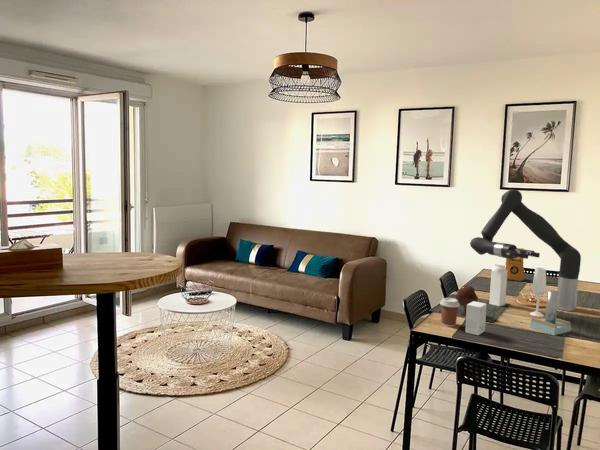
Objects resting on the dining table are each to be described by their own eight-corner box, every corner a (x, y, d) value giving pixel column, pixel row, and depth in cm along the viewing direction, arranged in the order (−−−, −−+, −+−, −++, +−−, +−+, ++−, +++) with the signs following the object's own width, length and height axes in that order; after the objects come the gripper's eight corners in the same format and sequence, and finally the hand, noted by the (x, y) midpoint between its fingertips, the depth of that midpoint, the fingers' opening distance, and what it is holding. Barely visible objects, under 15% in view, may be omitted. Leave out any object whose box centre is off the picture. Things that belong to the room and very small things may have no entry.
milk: (499, 306, 262) (501, 266, 259) (488, 303, 267) (491, 264, 264) (505, 304, 266) (508, 265, 263) (495, 302, 270) (497, 263, 268)
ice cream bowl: (476, 312, 249) (478, 284, 248) (476, 318, 239) (478, 289, 237) (454, 310, 253) (456, 282, 251) (454, 316, 242) (456, 287, 241)
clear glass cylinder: (548, 321, 228) (551, 289, 226) (557, 323, 224) (560, 292, 222) (542, 322, 226) (545, 290, 224) (551, 325, 222) (554, 293, 220)
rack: (546, 323, 233) (547, 314, 233) (570, 331, 223) (571, 322, 222) (530, 327, 227) (530, 318, 227) (554, 335, 217) (554, 325, 216)
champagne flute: (538, 317, 244) (542, 270, 241) (526, 313, 250) (530, 267, 247) (547, 315, 247) (551, 269, 244) (535, 311, 253) (539, 266, 250)
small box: (471, 328, 225) (473, 300, 223) (485, 331, 221) (487, 303, 219) (464, 332, 218) (466, 304, 217) (478, 335, 214) (480, 307, 213)
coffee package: (523, 282, 321) (525, 249, 318) (502, 280, 327) (505, 247, 324) (524, 279, 329) (526, 247, 327) (504, 277, 335) (506, 245, 333)
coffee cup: (455, 328, 223) (457, 303, 222) (436, 325, 228) (437, 300, 227) (460, 323, 231) (462, 299, 229) (441, 320, 236) (443, 296, 234)
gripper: (496, 244, 246) (524, 249, 232) (514, 242, 253) (543, 247, 238) (495, 258, 247) (523, 264, 233) (513, 256, 253) (542, 262, 239)
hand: (533, 255), depth 236 cm, fingers open, 8 cm apart
